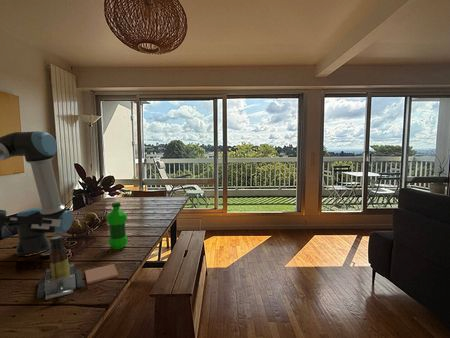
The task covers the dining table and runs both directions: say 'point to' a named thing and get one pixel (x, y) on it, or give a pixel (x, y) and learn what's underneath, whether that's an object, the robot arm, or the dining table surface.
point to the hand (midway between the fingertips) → (54, 224)
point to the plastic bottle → (117, 227)
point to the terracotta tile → (101, 273)
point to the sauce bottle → (58, 258)
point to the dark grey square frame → (59, 284)
